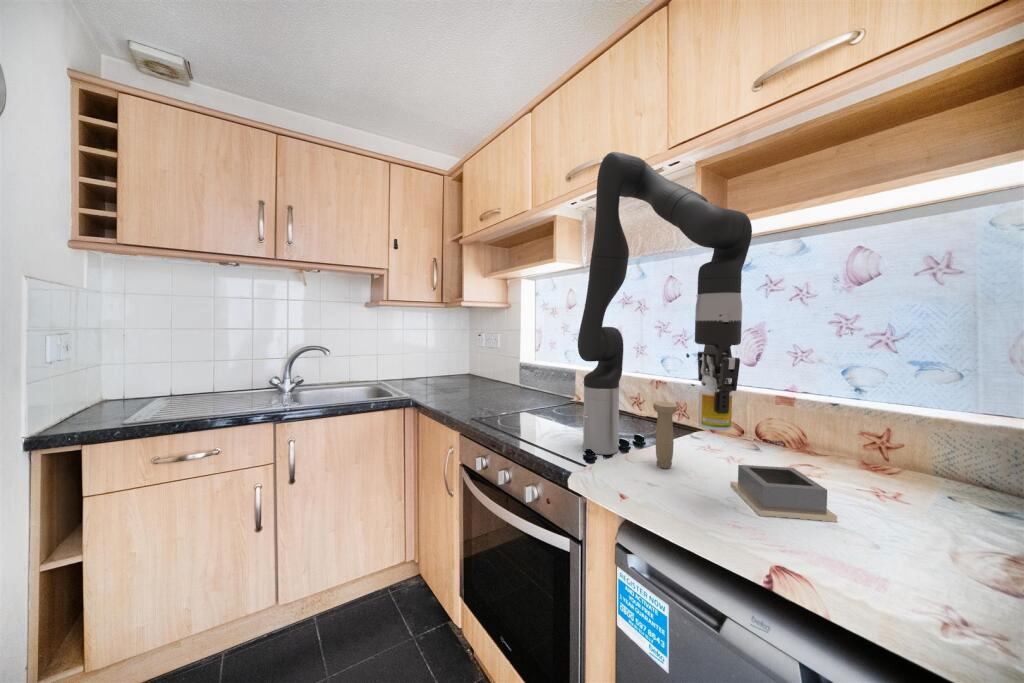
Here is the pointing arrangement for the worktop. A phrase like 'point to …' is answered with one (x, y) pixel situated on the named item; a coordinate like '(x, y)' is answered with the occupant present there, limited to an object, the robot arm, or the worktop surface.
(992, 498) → the worktop surface
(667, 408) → the handle
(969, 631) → the worktop surface
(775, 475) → the gray open box
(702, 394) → the supplement bottle
